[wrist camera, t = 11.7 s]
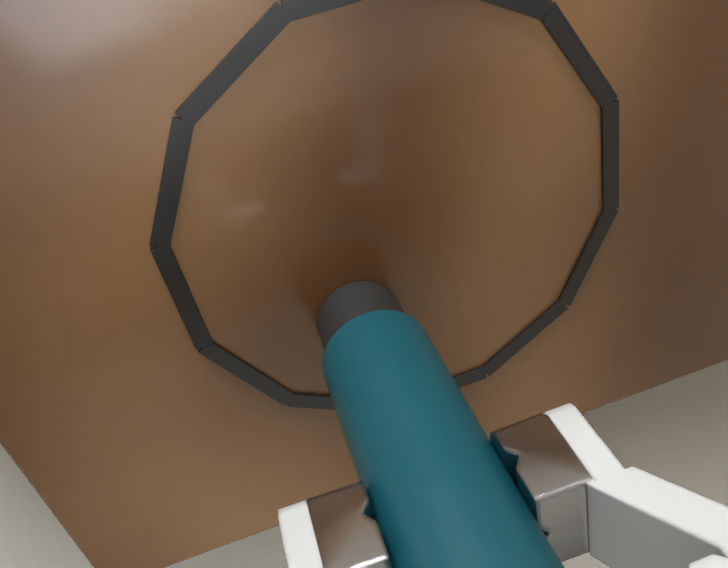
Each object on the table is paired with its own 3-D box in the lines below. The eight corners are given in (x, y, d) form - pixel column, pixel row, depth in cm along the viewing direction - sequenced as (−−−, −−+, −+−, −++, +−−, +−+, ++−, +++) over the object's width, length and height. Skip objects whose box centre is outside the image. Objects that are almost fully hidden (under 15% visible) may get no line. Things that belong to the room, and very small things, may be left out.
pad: (825, -341, 13) (877, -356, 12) (738, 329, 22) (764, 350, 21) (-325, -48, 11) (-370, -38, 10) (109, 558, 20) (108, 592, 19)
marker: (396, 258, 16) (930, 1122, 5) (414, 338, 17) (862, 1152, 6) (295, 291, 15) (630, 1274, 5) (321, 370, 17) (627, 1272, 6)
